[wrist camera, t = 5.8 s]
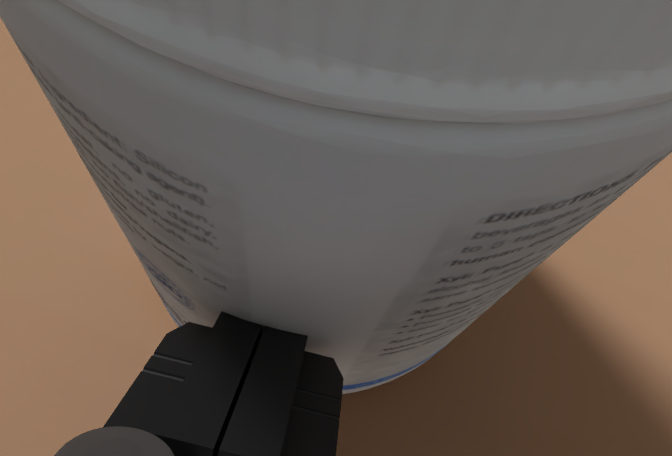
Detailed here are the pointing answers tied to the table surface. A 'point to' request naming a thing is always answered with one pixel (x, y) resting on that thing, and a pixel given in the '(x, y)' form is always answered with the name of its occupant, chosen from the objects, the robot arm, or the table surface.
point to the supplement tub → (353, 150)
